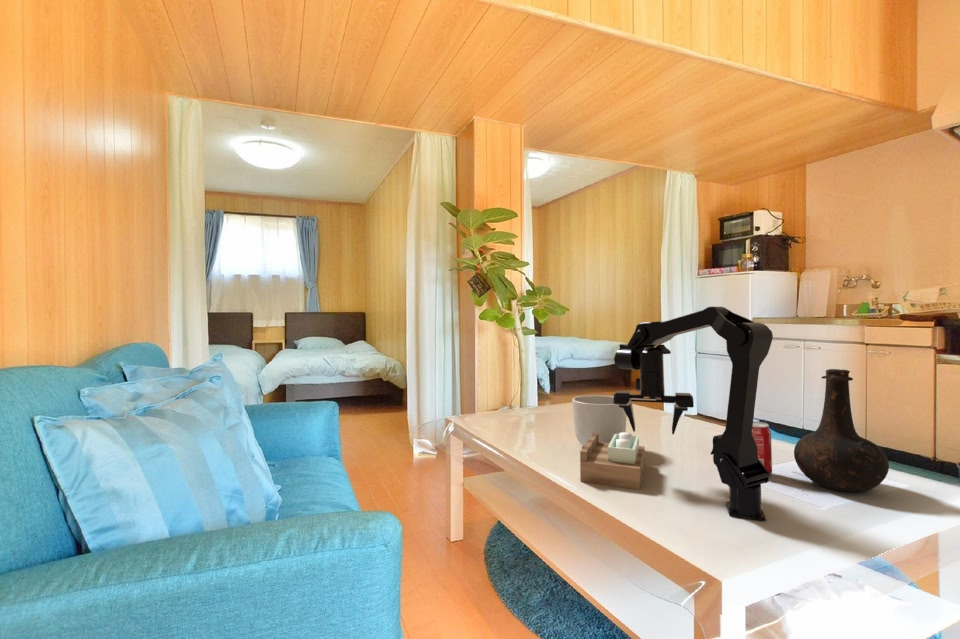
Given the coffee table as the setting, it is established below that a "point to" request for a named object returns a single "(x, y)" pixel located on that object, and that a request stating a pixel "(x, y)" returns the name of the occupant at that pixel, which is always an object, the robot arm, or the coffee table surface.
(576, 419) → the planter
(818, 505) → the coffee table surface
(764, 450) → the soda can
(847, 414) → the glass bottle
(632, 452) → the tray
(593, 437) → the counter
